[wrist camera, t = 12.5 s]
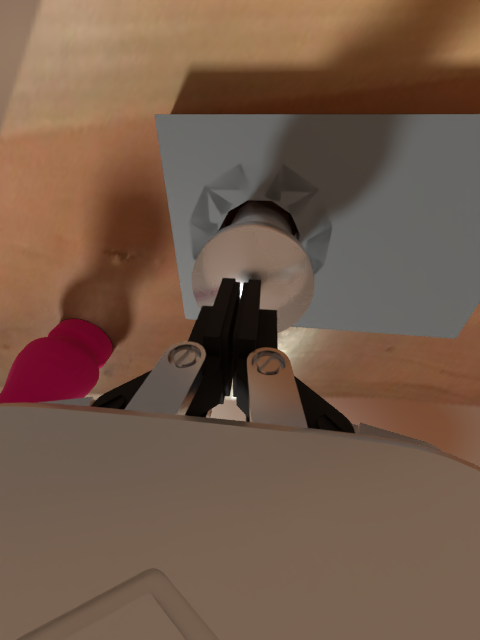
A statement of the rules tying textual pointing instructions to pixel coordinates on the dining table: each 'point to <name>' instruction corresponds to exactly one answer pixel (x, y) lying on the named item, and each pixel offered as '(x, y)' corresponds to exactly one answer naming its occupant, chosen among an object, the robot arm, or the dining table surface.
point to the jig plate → (342, 208)
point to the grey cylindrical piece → (258, 262)
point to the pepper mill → (58, 364)
